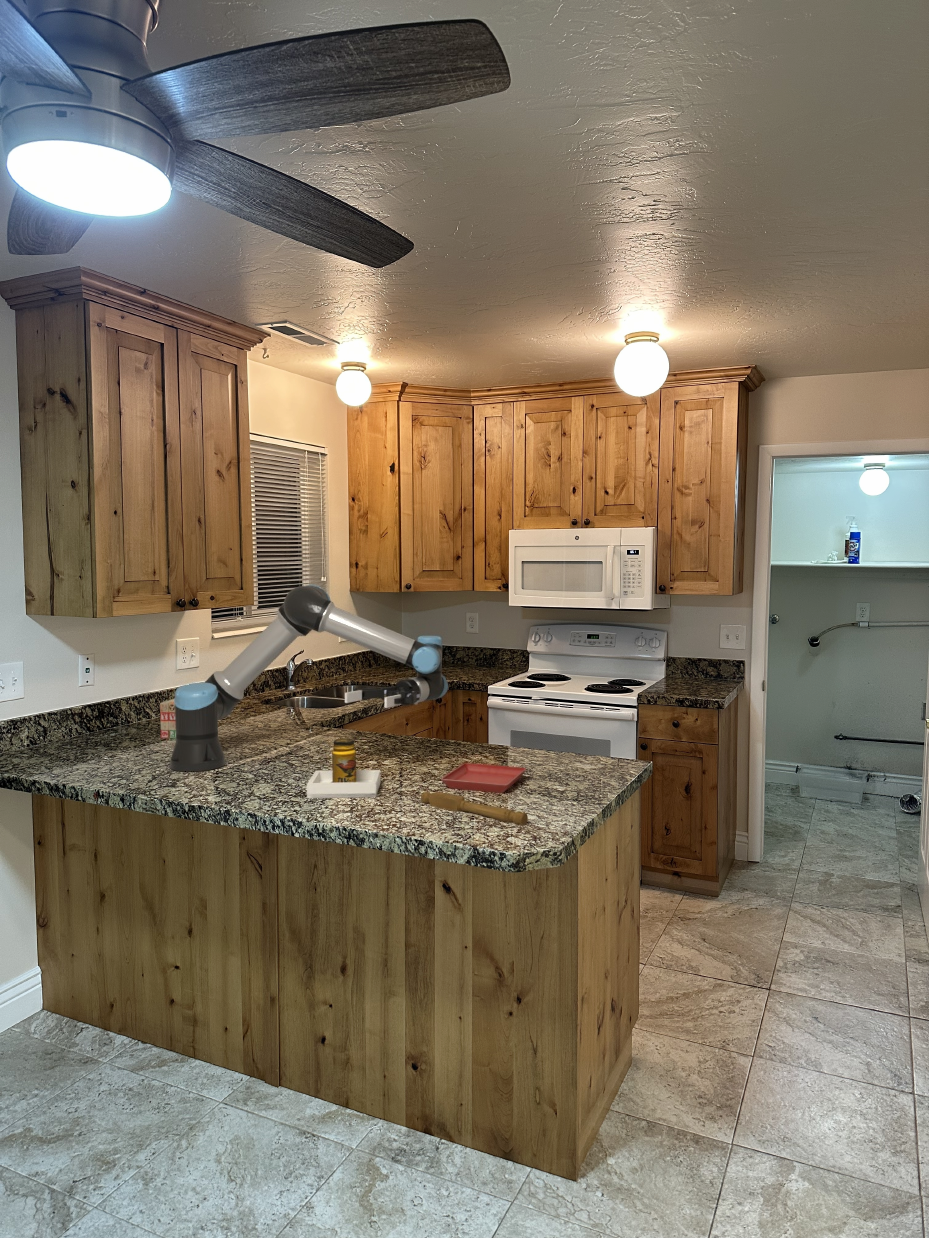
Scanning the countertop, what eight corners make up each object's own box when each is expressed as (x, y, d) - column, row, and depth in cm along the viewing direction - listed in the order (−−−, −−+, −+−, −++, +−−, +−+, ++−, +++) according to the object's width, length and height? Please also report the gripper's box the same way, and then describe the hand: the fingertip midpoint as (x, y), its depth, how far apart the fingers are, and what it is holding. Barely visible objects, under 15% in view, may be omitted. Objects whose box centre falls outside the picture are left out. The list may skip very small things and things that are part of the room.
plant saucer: (507, 797, 207) (507, 783, 207) (439, 790, 213) (439, 778, 213) (527, 779, 224) (527, 767, 224) (464, 774, 230) (464, 762, 230)
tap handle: (520, 814, 182) (418, 791, 200) (520, 827, 182) (418, 804, 200) (528, 810, 184) (426, 788, 203) (528, 824, 184) (426, 801, 203)
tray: (307, 798, 205) (306, 784, 205) (316, 783, 219) (315, 770, 219) (376, 797, 206) (375, 783, 206) (380, 782, 220) (380, 769, 220)
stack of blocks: (192, 726, 303) (191, 693, 302) (208, 727, 302) (207, 693, 301) (160, 738, 282) (159, 702, 281) (177, 739, 281) (176, 702, 280)
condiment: (349, 790, 208) (349, 743, 208) (320, 788, 211) (319, 741, 210) (363, 783, 215) (362, 738, 214) (334, 781, 218) (333, 735, 217)
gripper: (446, 708, 237) (402, 718, 219) (376, 699, 250) (330, 709, 232) (446, 682, 237) (403, 690, 219) (376, 675, 250) (330, 682, 232)
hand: (365, 700), depth 225 cm, fingers open, 13 cm apart
